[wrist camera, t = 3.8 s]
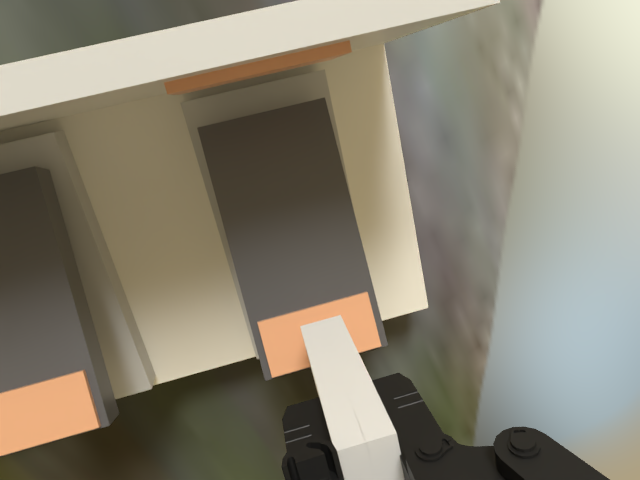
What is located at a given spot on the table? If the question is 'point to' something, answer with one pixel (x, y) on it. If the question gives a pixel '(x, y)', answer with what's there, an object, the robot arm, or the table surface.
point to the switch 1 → (44, 324)
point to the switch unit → (192, 171)
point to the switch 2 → (291, 230)
